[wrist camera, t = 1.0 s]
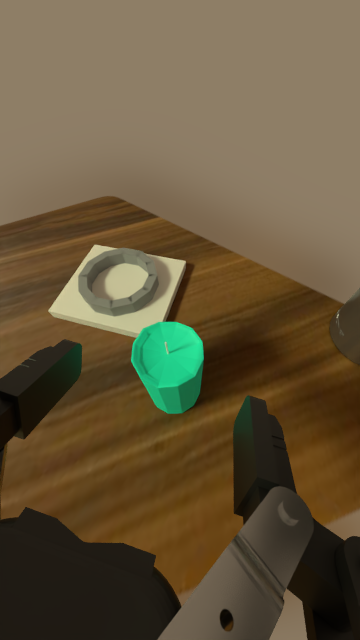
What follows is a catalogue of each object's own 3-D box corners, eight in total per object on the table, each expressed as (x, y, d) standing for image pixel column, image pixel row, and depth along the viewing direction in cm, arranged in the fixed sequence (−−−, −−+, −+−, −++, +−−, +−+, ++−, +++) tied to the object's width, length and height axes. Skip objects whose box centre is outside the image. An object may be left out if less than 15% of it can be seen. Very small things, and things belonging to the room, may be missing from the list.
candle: (139, 388, 28) (110, 344, 18) (174, 354, 30) (166, 298, 20) (175, 426, 26) (165, 399, 16) (210, 386, 28) (221, 340, 18)
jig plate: (186, 268, 38) (185, 251, 35) (157, 343, 31) (153, 330, 28) (97, 251, 41) (90, 234, 38) (53, 316, 34) (40, 302, 31)
